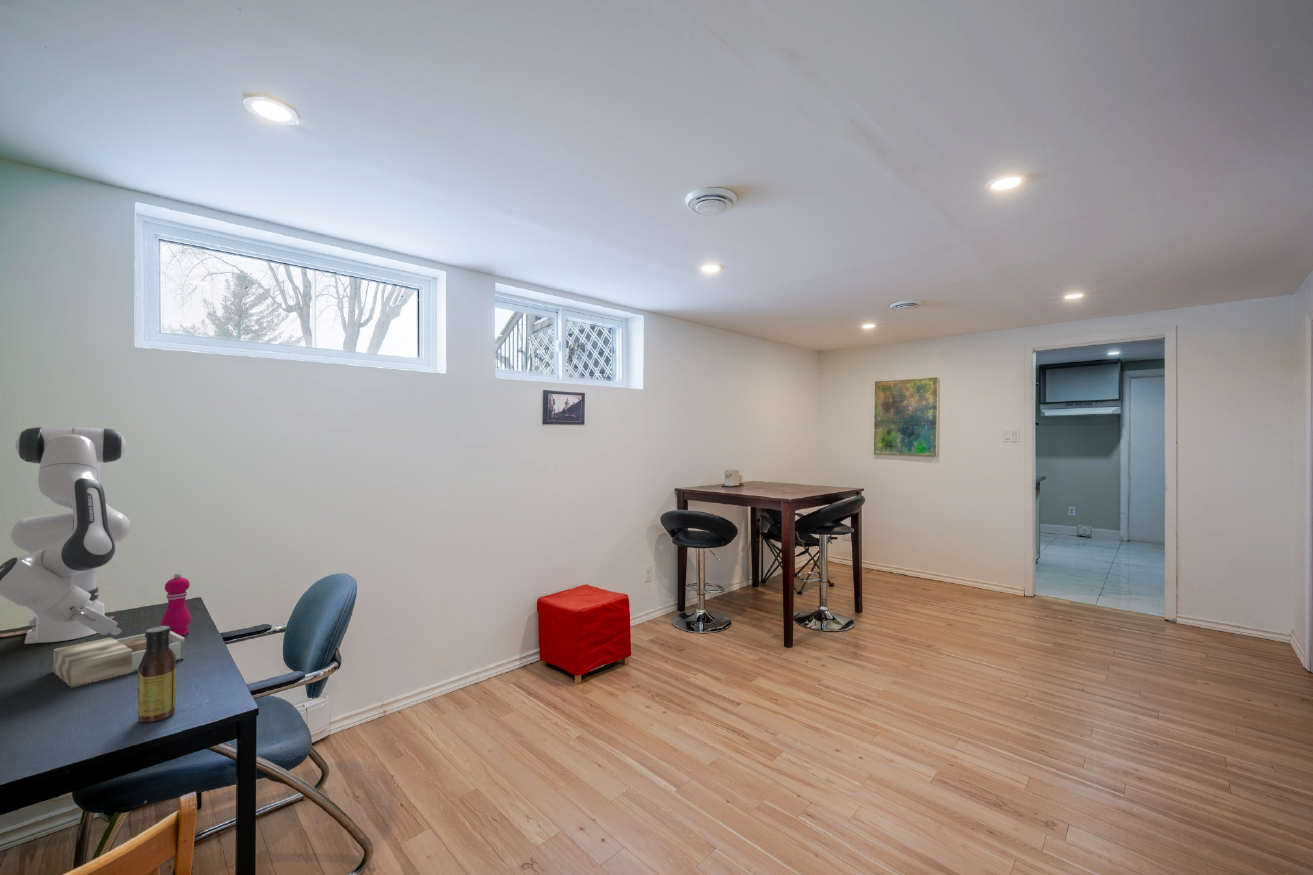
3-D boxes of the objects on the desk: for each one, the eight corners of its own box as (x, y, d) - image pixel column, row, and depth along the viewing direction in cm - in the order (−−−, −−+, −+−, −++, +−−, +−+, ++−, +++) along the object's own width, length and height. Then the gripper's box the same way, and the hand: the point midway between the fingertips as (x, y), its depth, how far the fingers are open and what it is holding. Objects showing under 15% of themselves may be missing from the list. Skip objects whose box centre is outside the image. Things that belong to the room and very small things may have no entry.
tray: (110, 658, 152) (111, 637, 152) (161, 646, 161) (161, 626, 161) (131, 672, 142) (132, 650, 142) (184, 659, 151) (184, 637, 152)
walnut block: (120, 643, 148) (158, 634, 155) (119, 661, 148) (157, 651, 155) (126, 646, 146) (164, 637, 153) (125, 664, 146) (163, 655, 153)
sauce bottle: (153, 710, 121) (156, 623, 122) (183, 710, 122) (185, 622, 123) (127, 725, 115) (131, 633, 116) (158, 724, 115) (162, 632, 116)
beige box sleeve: (53, 671, 142) (53, 649, 142) (110, 658, 152) (111, 637, 152) (71, 688, 133) (72, 663, 133) (131, 672, 142) (132, 650, 142)
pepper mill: (172, 640, 166) (174, 576, 167) (154, 638, 168) (156, 574, 168) (196, 632, 174) (198, 571, 174) (178, 630, 175) (180, 569, 176)
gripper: (91, 600, 135) (141, 628, 143) (69, 589, 146) (117, 615, 154) (64, 623, 131) (118, 650, 139) (44, 609, 142) (95, 635, 150)
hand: (117, 632), depth 146 cm, fingers closed
